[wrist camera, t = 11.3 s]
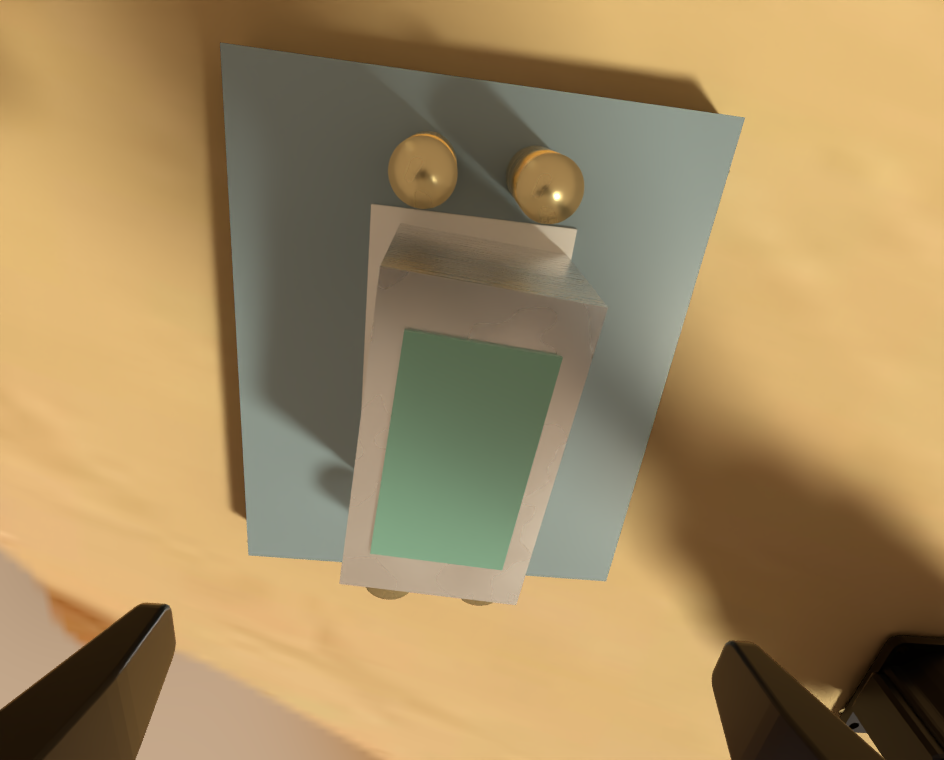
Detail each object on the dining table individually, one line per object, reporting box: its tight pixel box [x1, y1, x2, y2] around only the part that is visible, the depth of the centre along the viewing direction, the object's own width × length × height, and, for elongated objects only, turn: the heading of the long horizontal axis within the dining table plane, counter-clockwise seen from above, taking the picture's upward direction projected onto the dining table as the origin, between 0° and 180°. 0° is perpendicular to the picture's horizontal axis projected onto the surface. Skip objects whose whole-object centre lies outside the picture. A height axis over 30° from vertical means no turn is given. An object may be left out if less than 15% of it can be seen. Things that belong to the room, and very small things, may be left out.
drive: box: [340, 223, 608, 605], centre depth 16 cm, size 5×9×5 cm, turn 169°
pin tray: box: [220, 43, 745, 606], centre depth 18 cm, size 14×17×4 cm
